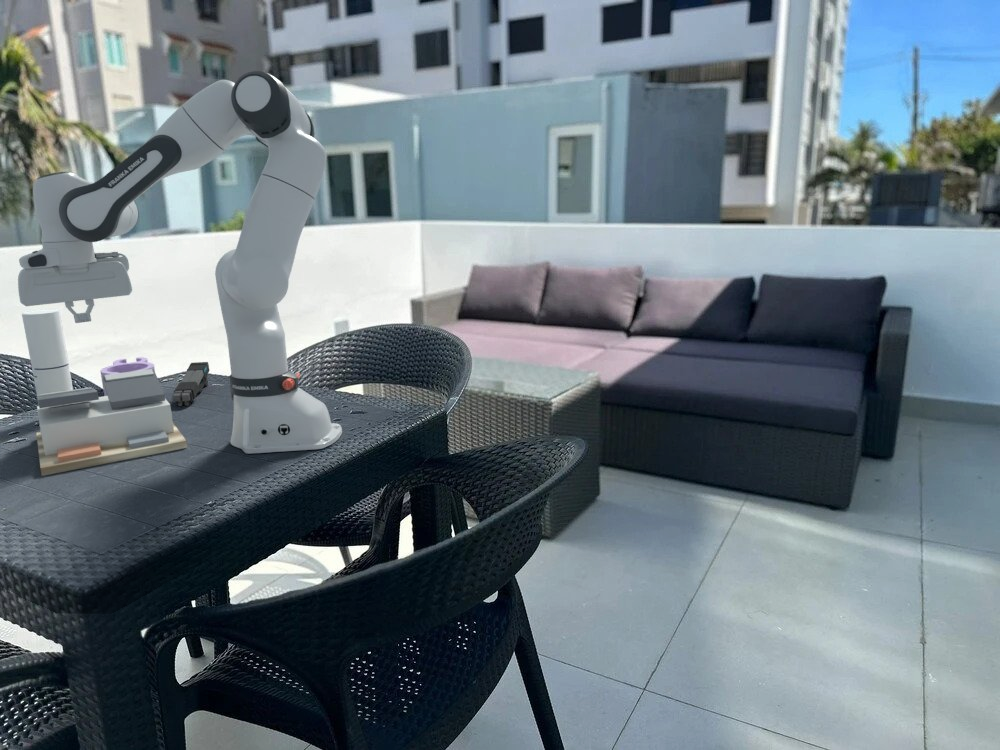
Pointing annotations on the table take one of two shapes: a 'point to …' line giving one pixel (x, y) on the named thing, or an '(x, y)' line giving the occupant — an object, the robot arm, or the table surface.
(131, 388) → the right rocker
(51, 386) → the cylindrical container
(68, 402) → the left rocker
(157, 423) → the switch unit
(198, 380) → the gun
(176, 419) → the table surface
